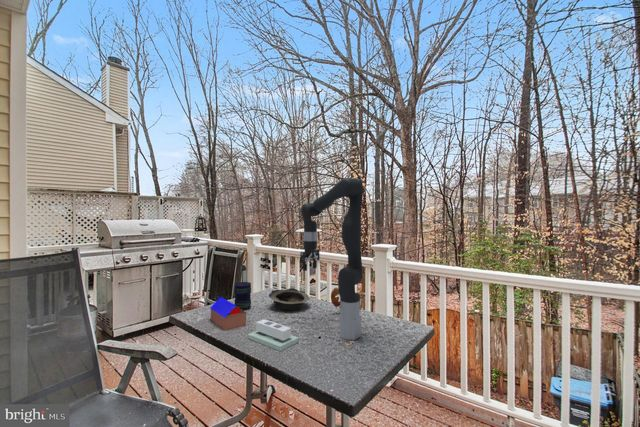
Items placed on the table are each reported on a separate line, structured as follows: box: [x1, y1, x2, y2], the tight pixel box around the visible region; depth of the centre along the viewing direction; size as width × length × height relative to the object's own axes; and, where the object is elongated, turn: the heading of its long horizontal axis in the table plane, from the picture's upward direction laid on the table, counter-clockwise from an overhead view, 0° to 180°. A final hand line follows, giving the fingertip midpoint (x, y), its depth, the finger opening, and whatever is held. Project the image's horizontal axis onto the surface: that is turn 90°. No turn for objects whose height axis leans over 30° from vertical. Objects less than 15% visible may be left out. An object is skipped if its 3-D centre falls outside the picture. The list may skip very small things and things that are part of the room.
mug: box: [330, 287, 340, 308], centre depth 182 cm, size 15×8×15 cm, turn 84°
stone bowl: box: [268, 288, 310, 311], centre depth 194 cm, size 25×25×9 cm
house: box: [209, 296, 247, 331], centre depth 167 cm, size 12×20×12 cm, turn 39°
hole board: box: [247, 330, 300, 352], centre depth 145 cm, size 21×12×2 cm, turn 52°
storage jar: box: [233, 281, 252, 312], centre depth 191 cm, size 10×10×15 cm
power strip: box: [255, 318, 292, 343], centre depth 145 cm, size 18×5×7 cm, turn 52°
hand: (309, 269), depth 173 cm, fingers open, 8 cm apart
